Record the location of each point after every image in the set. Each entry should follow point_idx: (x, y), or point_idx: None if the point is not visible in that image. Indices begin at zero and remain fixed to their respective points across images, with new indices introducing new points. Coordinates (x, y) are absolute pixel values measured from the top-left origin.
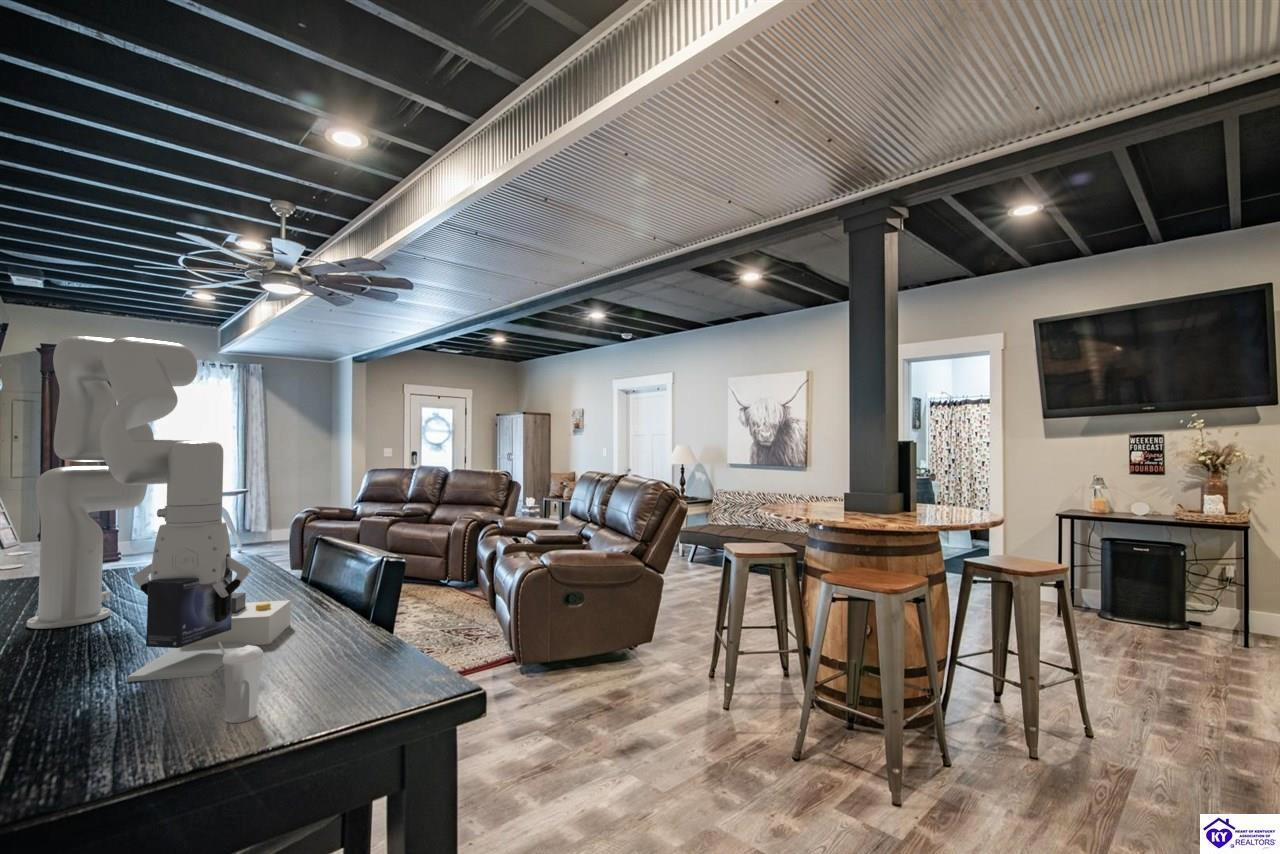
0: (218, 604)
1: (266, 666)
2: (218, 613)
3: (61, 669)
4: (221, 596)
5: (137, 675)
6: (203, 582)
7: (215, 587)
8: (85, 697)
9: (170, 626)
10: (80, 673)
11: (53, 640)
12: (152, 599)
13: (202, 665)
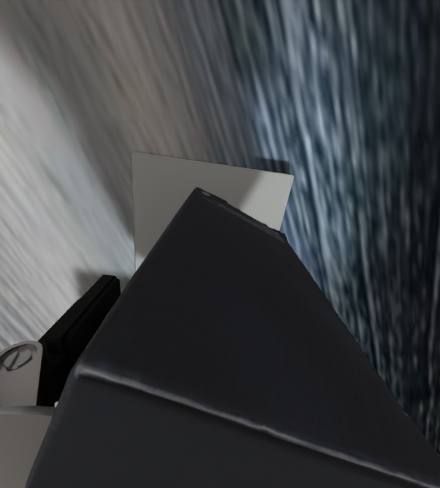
0: (70, 313)
1: (39, 176)
2: (92, 290)
3: (406, 292)
4: (37, 345)
5: (275, 173)
6: (16, 428)
7: (27, 400)
8: (352, 90)
9: (219, 216)
10: (377, 260)
11: (422, 415)
12: (330, 325)
13: (162, 197)
